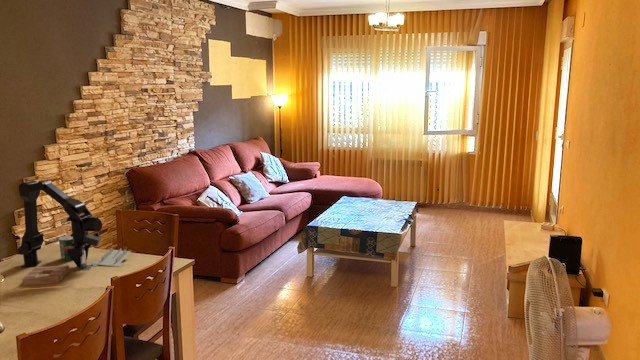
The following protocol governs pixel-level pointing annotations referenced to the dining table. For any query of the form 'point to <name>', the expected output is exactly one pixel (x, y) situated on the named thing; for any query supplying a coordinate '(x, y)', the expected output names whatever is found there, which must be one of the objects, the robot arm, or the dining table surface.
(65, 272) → the walnut hole plate
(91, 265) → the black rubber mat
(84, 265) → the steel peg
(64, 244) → the canned tomato
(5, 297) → the dining table surface
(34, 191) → the robot arm
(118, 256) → the metal bracket
